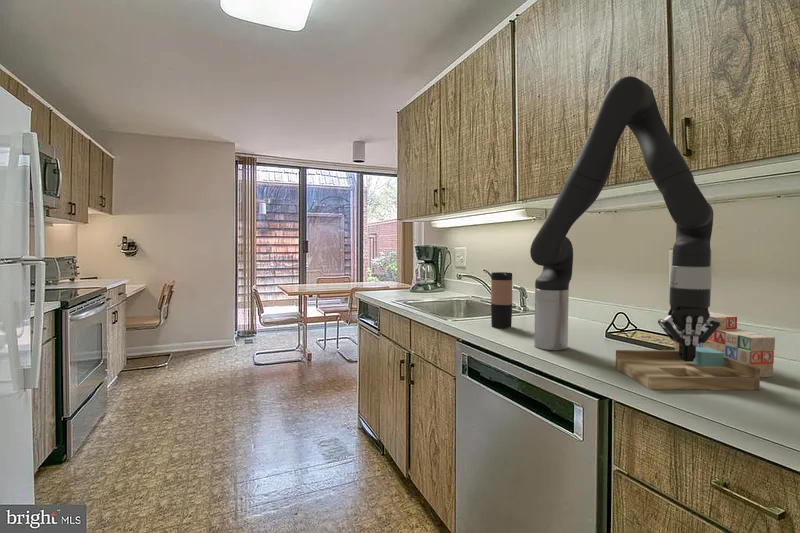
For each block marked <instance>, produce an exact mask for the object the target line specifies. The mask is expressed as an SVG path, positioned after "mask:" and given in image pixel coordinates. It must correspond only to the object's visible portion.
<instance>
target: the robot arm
mask: <svg viewBox="0 0 800 533" xmlns="http://www.w3.org/2000/svg"><path fill="white" fill-rule="evenodd" d="M627 127H628V128H629V130H630V131H631V132H632V133H633V135H634V136H635V138H636V140H637V143H638V144H639V147H640V150H641V154H642V157H643V161H644V163H645V166H646V168H647V171H648V174H650V176H651V179H652V180H653V182H654V184H655V186H656V188H657V189H658V190H659V192H660V194H661V195H662V198H663V201H664V203H665V205H666V207H667V210H668V213H669V214H670V217H671V218H672V220H673V222H674V223H675V225H676V227H675V228H676V230H675V242H674V244H673V246H672V247H673V248H672V259H671V260H672V262H671V264H672V265H671V272H670V275H669V276H670V277H669V278H670V279H669V280H670V281H669V306H670V309H669V311H668V314H667V316H666V317H664V318H663V319H658V320H657V323H658V325H659V326H660V328H661V329H662V330H663V332H665V334H666V336H668V338H669V339H670V340H671V341H673V342H675V341H676V342H678V343H679V357H681V359H682V360H684V361H693V360H694V359H695V357H696V345H697V344H699V343H705V342H706V341H707V340H708V338H709V337H710V336H711V335H712V334H713V333H714V332H715V330H716V329H717V328H718V327H719V326H720V323H719V322H717V321H714V320H713V319H712V318H710V313H709V312H710V311H709V308H710V307H711V294H712V293H711V292H712V291H711V290H712V273H711V272H712V271H711V258H712V254H711V253H712V250H711V239H712V234H713V225H714V209H713V207H712V205H711V204H710V203H709V202H708V201H707V199H706V197H705V196H704V195H703V194H704V193H702V191H701V190H700V188H699V186H698V185H697V183H696V182H695V178H694V176H693V173H692V171H691V169H690V167H689V166H688V164H687V162H686V161H685V159H684V157H683V155H682V153H681V152H680V150H679V149H678V147H677V145H676V144H675V142H674V140H673V139H672V137H671V136H670V134H669V131H668V130H667V128H666V125H665V124H664V121H663V117H662V116H661V113H660V110H659V106H658V104H657V100H656V98H655V94H654V91H653V88H652V87H651V86H650V85H649V84H648V83H646V82H644V81H643V80H641V79H640V78H638V77H636V76H631V75H630V76H629V75H627V76H624V77H621V78H619V79H618V80H616V81H615V82H613V84H612V85H610V87H609V88H608V90H607V92H606V93H605V95H604V98H603V100H602V102H601V105H600V107H599V110H598V113H597V116H596V119H595V120H594V124H593V125H592V127H591V130H590V133H589V135H588V137H587V139H585V140H586V141H585V142H584V144H583V145H582V149H581V151H580V152H579V155H578V156H577V159H576V161H575V162H574V164H573V166H572V168H571V170H570V172H569V174H568V176H567V178H566V180H565V182H564V184H563V186H562V189H561V190H560V193H559V195H558V197H557V198H556V200H555V202H554V205H553V207H552V209H551V210H550V213H549V214H548V217H546V219H545V221H544V222H543V224H542V226H541V228H540V229H539V230H538V232H537V234H536V235H535V237H534V239H533V240H532V243H531V245H530V250H529V252H530V253H529V254H530V258H531V260H532V262H533V263H534V264H536V265H537V266H542V271H541V274H540V275H539V276H538V277H537V278H535V282H534V347H536V348H537V349H542V350H549V351H563V350H567V349H568V346H569V344H568V343H569V342H568V341H569V302H570V300H569V298H570V297H569V294H570V293H569V292H570V290H569V288H570V283H571V280H572V277H573V264H574V263H573V262H574V248H573V244H572V241H571V240H570V239H569V237H567V234H568V233H569V231H570V230H571V228H572V227H573V225H574V224H575V222H576V221H577V220H579V218H580V217H581V216H583V214H584V213H585V212H586V211H587V210H589V208H590V207H592V206H593V204H594V203H595V202H596V200H597V199H598V197H599V196H600V194H601V192H602V190H603V188H604V186H605V185H606V182H607V181H608V179H609V176H610V174H611V171H612V166H613V162H614V157H615V152H616V148H617V145H618V143H619V141H620V138H621V136H622V135H623V133H624V131H625V129H626V128H627ZM675 326H676V330H675ZM693 330H694V331H693Z"/></svg>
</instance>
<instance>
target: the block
mask: <svg viewBox="0 0 800 533" xmlns="http://www.w3.org/2000/svg"><path fill="white" fill-rule="evenodd" d="M690 362H693V363H695V364H698V365H700V366H724V353H723V352H720V351H717V350H714V349H711V348H708V347H696V357H695V359H694V360H693V361H690Z"/></svg>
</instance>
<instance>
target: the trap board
mask: <svg viewBox="0 0 800 533" xmlns="http://www.w3.org/2000/svg"><path fill="white" fill-rule="evenodd" d="M615 370H618V371H619V372H621V373H623V374H624V375H626V376H628V378H631V379H633V380H634V381H636V382H638V383H639V384H641V385H643V386H644V387H646V388H648V389H649V390H675V389H711V390H714V391H715V390H716V391H726V390H727V391H760V386H761V385H760V384H761V383H760V382H761V380H760V379H761V377H760V368H757V367H755V366H752V365H749V364H746V363H743V362H740V361H737V360H735V359H732V358H729V357H726V356H724V366H700V365H698V364H695V363H693V362H690V361H684V360H682V359H681V357H679V350H675V349H669V350H667V349H657V350H656V349H616V350H615ZM711 390H710V391H711Z"/></svg>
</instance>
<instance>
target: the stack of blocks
mask: <svg viewBox="0 0 800 533" xmlns="http://www.w3.org/2000/svg"><path fill="white" fill-rule="evenodd" d="M709 313H710V318H712V319H713V320H714V321H717V322H719V323H720V326H719V327H718V328H717V329H716V330H715V332H714V333H713V334H712V335H711V336H710V337H709V338H708V340H707V341H706V342H705V343H699V344H697V345H696V347H708V348H711V349H714V350H717V351H720V352H723V353H724V356H726V357H729V358H732V359H735V360H737V361H740V362H743V363H746V364H749V365H752V366H755V367H757V368H760V378H769V377H770V378H771V377H772V378H773V377H774V362H775V361H774V360H775V358H774V357H775V348H776V346H775V345H776V337H775V336H772V335H768V334H767V335H766V334H761V333H757V332H754V331H748V330H745V329H744V330H743V329H739V328H738V316H735V315H728V314H723V313H718V312H712V311H709ZM674 329H675V330H676V326H675V325H674ZM693 331H694V330H693ZM674 344H675V345H674V350H679V343H678V342H676V341H674Z"/></svg>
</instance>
